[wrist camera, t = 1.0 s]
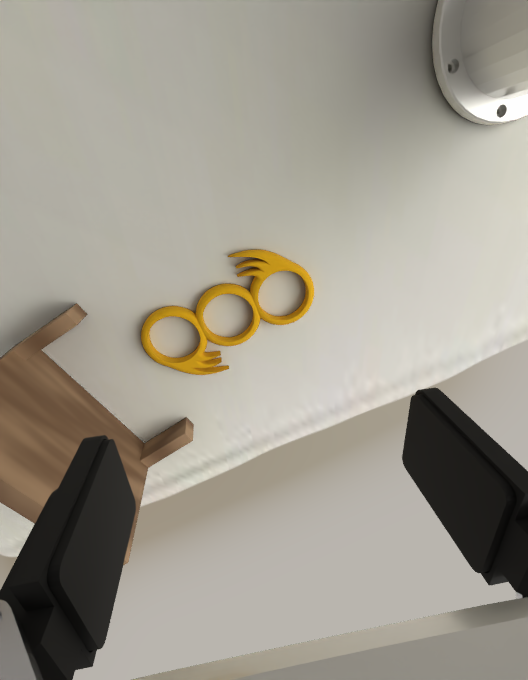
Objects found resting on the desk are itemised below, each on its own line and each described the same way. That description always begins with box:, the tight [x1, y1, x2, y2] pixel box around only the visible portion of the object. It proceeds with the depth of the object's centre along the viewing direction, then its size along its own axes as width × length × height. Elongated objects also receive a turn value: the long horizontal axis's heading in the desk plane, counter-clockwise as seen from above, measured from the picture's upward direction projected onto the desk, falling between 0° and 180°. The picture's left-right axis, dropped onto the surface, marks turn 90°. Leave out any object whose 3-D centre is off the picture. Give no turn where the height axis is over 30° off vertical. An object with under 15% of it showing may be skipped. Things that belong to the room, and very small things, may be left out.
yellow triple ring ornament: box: [141, 250, 314, 375], centre depth 31 cm, size 17×2×10 cm
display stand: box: [0, 304, 194, 565], centre depth 27 cm, size 7×16×12 cm, turn 32°
